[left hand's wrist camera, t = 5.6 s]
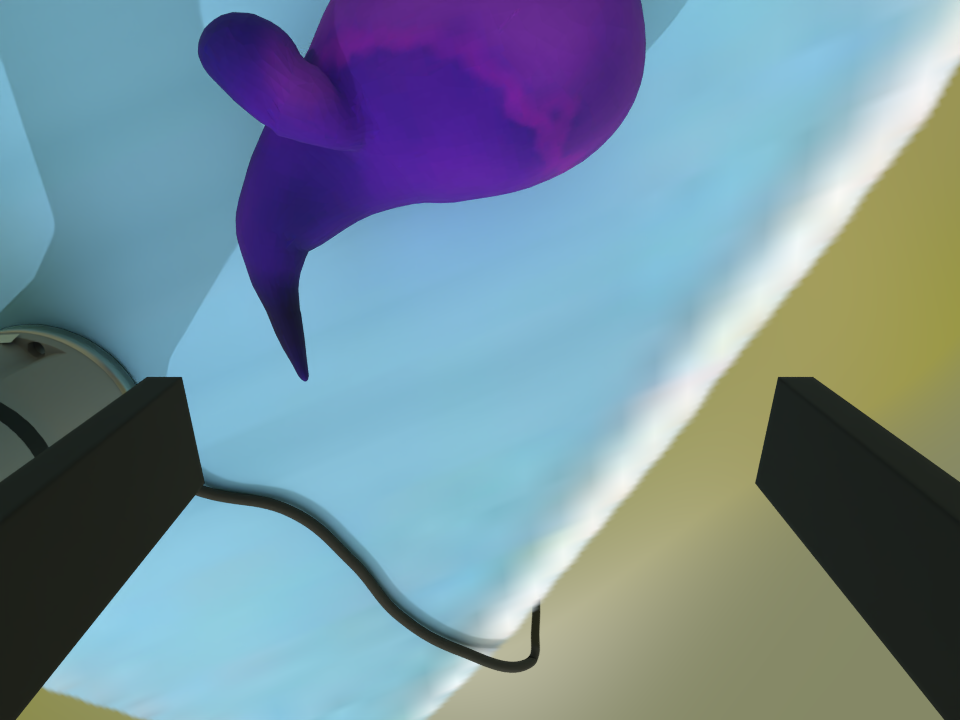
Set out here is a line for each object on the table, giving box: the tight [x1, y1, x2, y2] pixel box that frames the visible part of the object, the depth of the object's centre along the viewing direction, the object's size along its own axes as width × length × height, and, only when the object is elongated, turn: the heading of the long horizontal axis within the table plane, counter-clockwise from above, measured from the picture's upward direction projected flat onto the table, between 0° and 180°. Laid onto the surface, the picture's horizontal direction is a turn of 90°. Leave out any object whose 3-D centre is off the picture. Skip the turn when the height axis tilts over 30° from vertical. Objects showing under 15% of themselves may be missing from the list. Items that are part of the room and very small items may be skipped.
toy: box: [198, 0, 646, 381], centre depth 32 cm, size 16×18×27 cm
